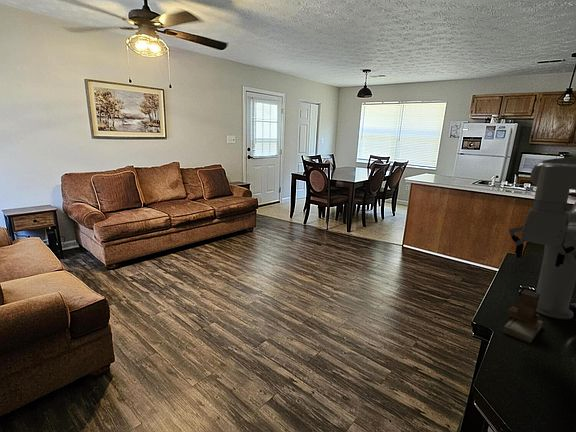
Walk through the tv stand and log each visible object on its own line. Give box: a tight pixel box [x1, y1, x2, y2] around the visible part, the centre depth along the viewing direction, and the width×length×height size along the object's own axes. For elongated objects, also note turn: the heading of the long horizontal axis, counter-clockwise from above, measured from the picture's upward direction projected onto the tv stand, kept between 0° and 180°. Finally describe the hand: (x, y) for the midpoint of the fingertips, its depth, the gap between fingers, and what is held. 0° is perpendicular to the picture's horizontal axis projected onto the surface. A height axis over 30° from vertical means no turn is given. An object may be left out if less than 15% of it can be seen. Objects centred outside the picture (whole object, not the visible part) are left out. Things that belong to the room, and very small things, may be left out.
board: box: [502, 317, 544, 344], centre depth 100 cm, size 14×7×2 cm, turn 130°
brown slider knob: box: [506, 288, 540, 325], centre depth 101 cm, size 4×7×11 cm, turn 40°
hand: (537, 261), depth 97 cm, fingers open, 9 cm apart
